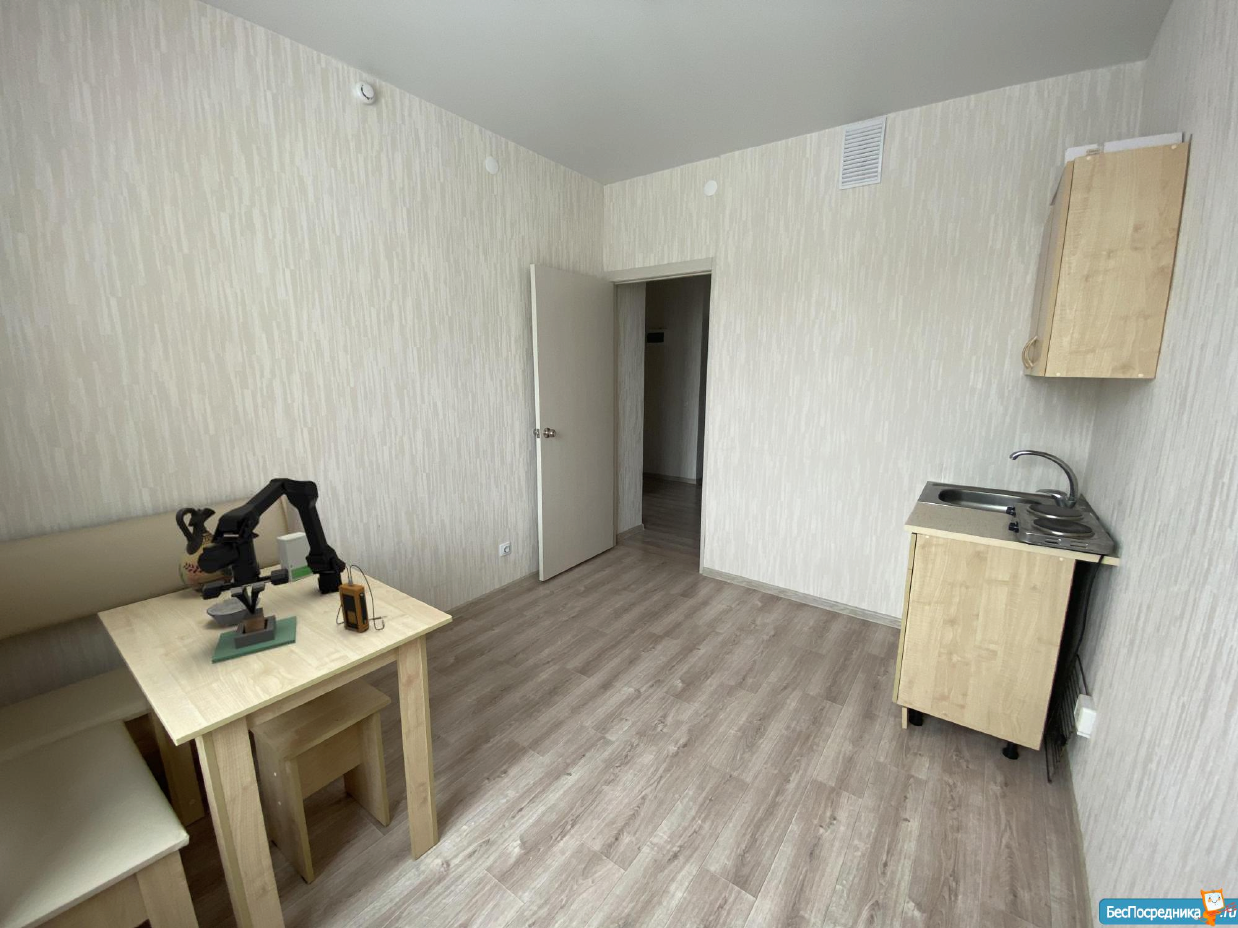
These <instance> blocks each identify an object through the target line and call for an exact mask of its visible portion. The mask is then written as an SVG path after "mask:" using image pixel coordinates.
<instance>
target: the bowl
mask: <svg viewBox="0 0 1238 928" xmlns="http://www.w3.org/2000/svg"><path fill="white" fill-rule="evenodd" d="M248 595H249V594H248ZM249 598H250V601H251V594H250V595H249ZM260 601H261V597H259V596H258V598H257V603H256V608H258V605H259V603H260ZM256 608H255V609H256ZM247 610H248V609H247V608H246V607H245V605H244V604H243V603H242V602H241V601H240V600H238V599H237V598H236V597H228V598H226V599H224V598H223V600H222V601H219V602H216V603H214V604H212V605H211V606H209V608H207V609H206V614H207V615H209V616H210V617H211V618H212V619H213V620H214V621H216V622H217V623H219V624H220V625H222V626H230V625H231V626H232V625H237V624H238V623H241V622H244V620H243V618H244V614H245V611H247Z"/></svg>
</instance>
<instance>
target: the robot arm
mask: <svg viewBox="0 0 1238 928" xmlns="http://www.w3.org/2000/svg"><path fill="white" fill-rule="evenodd" d="M284 495H285V497H286V499H287V501H288V502H289V504H290V505H292V506H293V507H294V508H295V509H296V510H297V512H298V515H299V518H300V521H301V524H302V527H303V531H304V533H305V534H306V537H307V540H308V543H309V546H310V551H309V554H308V556H306V557H305V559H306V561H307V566H308V567H309V568H310V569H311V571H312V573H313V574H314V575H318V577H317V585H318V591H319V592H320V594H321V595H326V594H331V593H335V592H336V593H337V592H339V586H340V584H341V585H343V584H344V583H343V582H342V581H343V580H342V573H344V571H345V570H346V569H347V568H346V567H345V566H344V565H343V564H342V563H344V564H345V565H346V564H347V563H346V562H345V561H344V560H342V559H341V558H339V556H338V554H337V551H336V549H334V548H333V547H332V546H331V545H329V543H328V541H327V538H326V535H325V531H324V528H323V525H322V522H321V518H320V514H319V511H318V509H317V505H316V504H317V502H318V499H319V490H318V486H317V483H316V482H315V481H314V480H313V481H312V480H297V479H291V478H288V477H275V478H272V479H270V481H269V483H267V485H266V486H264V487H263V488H262V489H261V490H259V491H258V492H257V493H256V494H254V495H253V496H252V497H251V498H250V499H249V500H248V501H247V502H245V503H244V504H243V505H241V506H239V507H235V508H233V509H231V510H229V511H227V512H225V513H223V514H222V515H220V517H219V518H218V520H217V521H218V523H217V525H216V528H215V530H214V532H213V537H212V540H211V543H215V544H213V545H210V546H206V547H203V553H201V554H200V555H199V557H198V560H197V563H198V566H199V568H200V569H201V570H202V571H203V572H205V573H208V574H212V573H215V572H217V571H219V570H221V569H224V568H226V567H228V571H229V575H233V579H232V581H231V583H226V584H224V582H223V580H221V581H216V582H210V583H207V584H206V585H205V586H204V588H203V590H202V595H201V596H202V599H203V600H204V601H208V600H212V599H218V598H219V597H220V596H221V595H222V592H229V591H230V593H231V595H230V598H234V597H236V598H237V599H238V600H240V601H241V602H242V603H243V604H244V605H245V607H246V608H247V609H248V610H249V612H250V613H255V608H257V607H256V603H257V598H258V597H259V596H260V593H261V592H264V591H265V588H266V584H267V583H270V584H271V585H272V586H281V585H286V584H289V582H290V581H289V572H288V569H286V568H283V569H281V568H279V569H273V570H271V571H270V574H268V575H263V576H261V575H262V574H261V573H262V572H261V568H260V567H261V566H260V563H259V562H258V559H257V555H256V554H257V553H256V549H255V543H254V540H255V539H257V538H259V537H260V534H258V533H257V532H254V531H255V529H256V528H257V526H258V525H259V524H260V521H261V520H260V519H261V516H262V515H263V514H264V513H265V512H267V511H268V510H269V508H271V507H272V506H273V505H274V504H275V503H276V502H277V501H278V500H279V499H281V497H282V496H284ZM341 562H342V563H341ZM340 563H341V565H340V567H339V564H340ZM346 566H347V565H346ZM338 567H339V571H338ZM337 571H338V576H339V581H340V584H339V581H338V576H337ZM248 587H251V591H250V595H251V601H250V598H249V592H248Z"/></svg>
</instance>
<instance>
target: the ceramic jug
mask: <svg viewBox="0 0 1238 928" xmlns="http://www.w3.org/2000/svg"><path fill="white" fill-rule="evenodd" d="M188 514H190V516H191V517H190V518H189V520H188V524H186V522H185V519H184V517H185V516H187V515H188ZM214 515H216V511H215V510H214V509H212V508H209V507H204V508H202V509H201V508H197V509H195V508H193V507H183V508H181V509H179V510H178V511H177V512H176V513H175V522H176V526H177V527H178V528H179V529H180V531H181V533H182V535H183V536H184V537H185V538H186V542H187V543H186V544H185V547H184V548H183V551H182V552H181V556H180V559H179V563H178V574H179V578H180V580H181V582H182V583H183V584H184V586H185V587H188V588H189V589H192V590H193V591H195V592H196V594H197V595H198V596H202V590H203V588H204V586H205V585H206V584H207V583H210V582H216V581H221V580H223V582H224V584H226V583H232V582H233V575H229V571H228V567H226V568H224V569H221V570H219V571H217V572H215V573H212V574H208V573H205V572H203V571H202V570H201V569H200V568H199V566H198V563H197V560H198V557H199V555H200V554H201V553H203V547H206V546H210V545H213V544H215V543H211V540H212V537H213V535H214V533H211V532H210V531H209V530H208V529H207V527H206V525H205V523H206V522H207V521H208V520H209V519H210V518H212V517H213V516H214ZM190 527H191V528H192V531H191V530H190Z"/></svg>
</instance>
